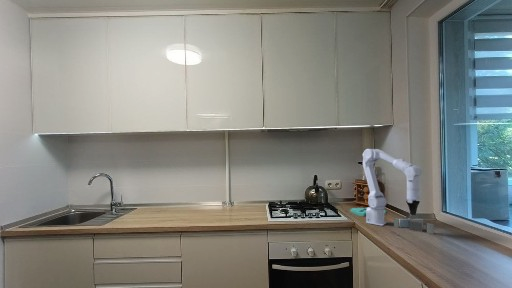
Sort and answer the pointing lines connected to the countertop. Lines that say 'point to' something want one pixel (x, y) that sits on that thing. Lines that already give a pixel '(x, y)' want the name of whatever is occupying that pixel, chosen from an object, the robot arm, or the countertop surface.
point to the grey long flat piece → (429, 226)
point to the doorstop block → (416, 225)
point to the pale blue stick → (407, 222)
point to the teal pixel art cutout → (360, 211)
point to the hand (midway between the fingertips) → (413, 214)
